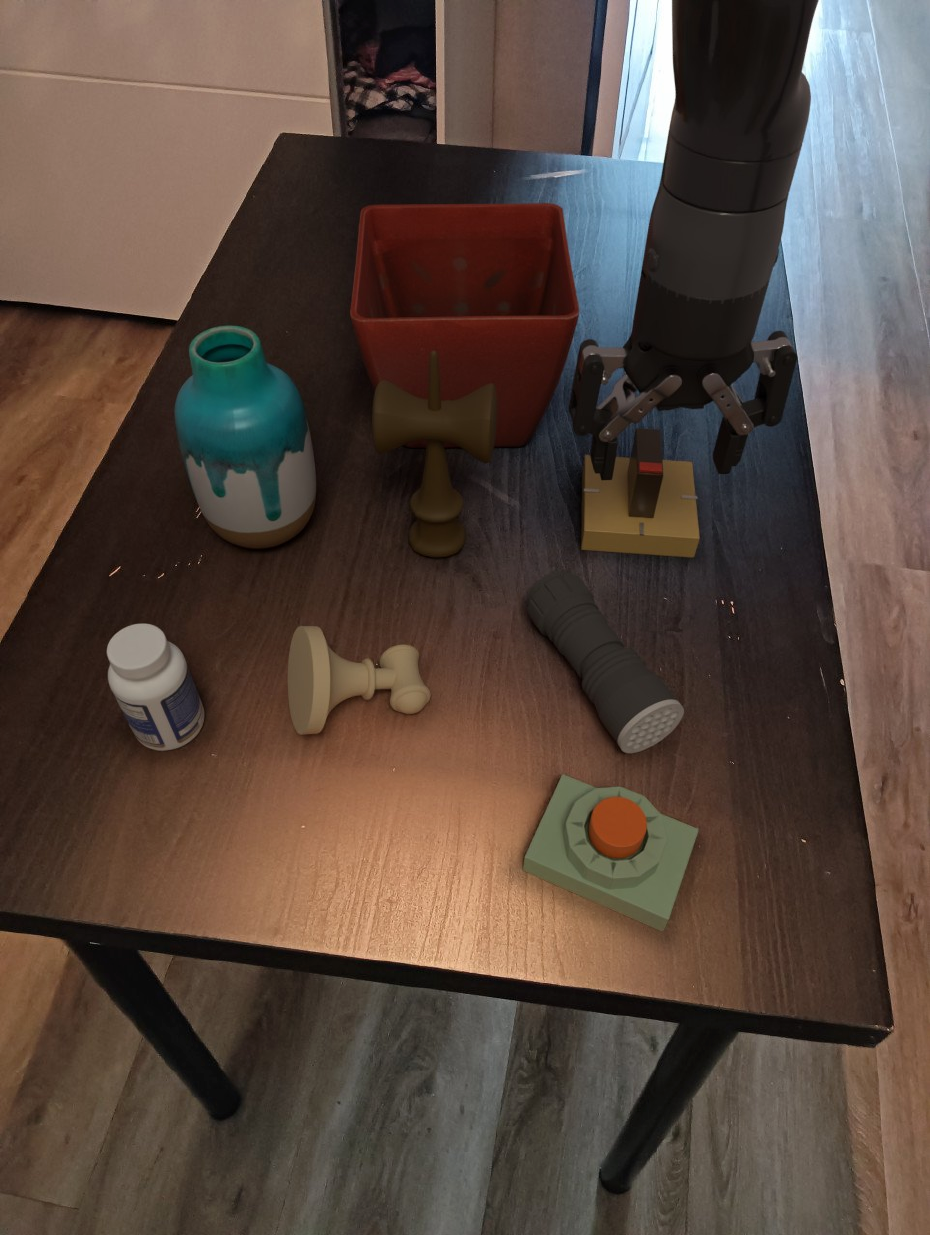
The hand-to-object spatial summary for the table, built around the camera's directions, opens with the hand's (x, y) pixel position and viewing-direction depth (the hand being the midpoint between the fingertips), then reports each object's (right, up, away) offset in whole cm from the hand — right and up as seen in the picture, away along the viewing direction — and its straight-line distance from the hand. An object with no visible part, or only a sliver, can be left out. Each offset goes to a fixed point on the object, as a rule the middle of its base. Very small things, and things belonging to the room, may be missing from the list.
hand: (662, 469), depth 67 cm
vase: (-32, -2, +17) cm, 37 cm away
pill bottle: (-37, -19, +4) cm, 42 cm away
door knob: (-23, -17, +5) cm, 29 cm away
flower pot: (-15, +11, +28) cm, 33 cm away
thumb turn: (+2, 0, +16) cm, 16 cm away
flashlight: (-4, -16, +7) cm, 17 cm away
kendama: (-17, -4, +16) cm, 24 cm away
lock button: (-4, -25, -6) cm, 26 cm away
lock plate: (+2, -1, +18) cm, 18 cm away
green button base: (-4, -27, -3) cm, 28 cm away
